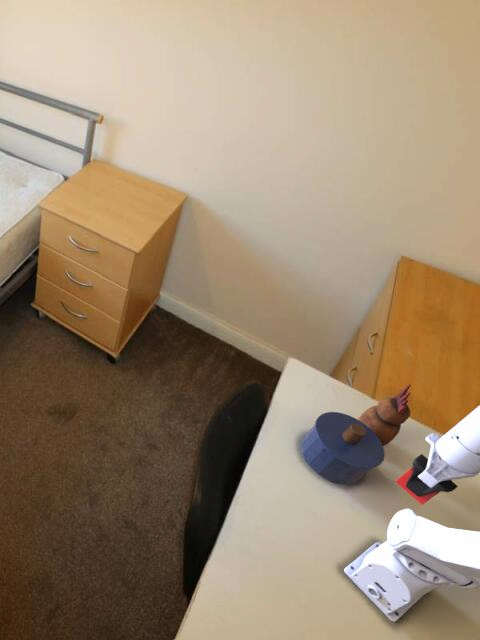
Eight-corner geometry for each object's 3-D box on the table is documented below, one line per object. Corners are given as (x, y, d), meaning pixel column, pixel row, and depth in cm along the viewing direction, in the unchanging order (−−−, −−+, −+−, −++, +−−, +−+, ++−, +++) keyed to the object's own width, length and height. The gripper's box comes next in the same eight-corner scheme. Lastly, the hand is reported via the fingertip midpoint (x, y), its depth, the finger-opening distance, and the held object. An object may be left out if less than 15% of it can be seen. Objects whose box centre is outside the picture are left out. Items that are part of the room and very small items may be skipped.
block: (421, 505, 84) (439, 492, 81) (394, 481, 87) (410, 468, 84) (436, 492, 86) (454, 479, 83) (409, 470, 89) (425, 456, 86)
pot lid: (357, 481, 88) (371, 469, 85) (299, 429, 95) (310, 416, 92) (394, 454, 92) (408, 441, 89) (336, 406, 99) (348, 393, 97)
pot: (339, 494, 92) (358, 477, 88) (289, 447, 99) (304, 428, 95) (372, 469, 96) (392, 451, 92) (322, 425, 103) (338, 407, 99)
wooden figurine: (355, 417, 104) (398, 372, 95) (387, 437, 101) (435, 392, 92) (344, 437, 101) (387, 392, 91) (376, 458, 98) (425, 414, 88)
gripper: (471, 401, 82) (420, 445, 91) (421, 438, 77) (371, 481, 86) (524, 437, 78) (464, 480, 86) (474, 480, 72) (415, 521, 81)
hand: (421, 483), depth 86 cm, fingers closed on block, 4 cm apart
